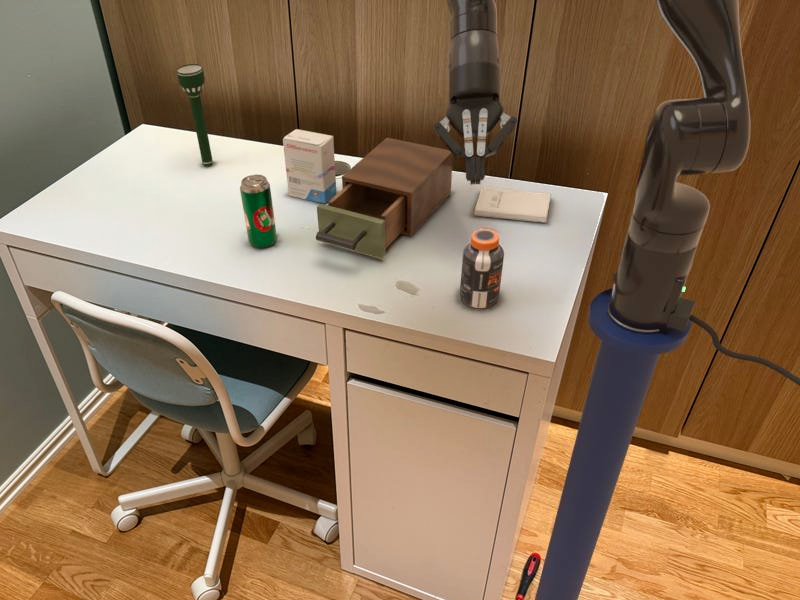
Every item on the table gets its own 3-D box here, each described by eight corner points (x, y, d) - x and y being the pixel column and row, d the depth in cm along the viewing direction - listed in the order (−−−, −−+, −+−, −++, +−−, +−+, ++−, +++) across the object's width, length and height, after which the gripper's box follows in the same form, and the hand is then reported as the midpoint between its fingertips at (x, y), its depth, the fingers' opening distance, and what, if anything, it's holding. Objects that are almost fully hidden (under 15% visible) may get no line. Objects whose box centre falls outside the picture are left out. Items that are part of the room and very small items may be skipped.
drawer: (367, 274, 115) (366, 239, 111) (304, 255, 121) (300, 220, 116) (423, 214, 128) (424, 180, 123) (363, 199, 133) (362, 166, 128)
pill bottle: (491, 313, 107) (498, 250, 100) (453, 303, 110) (458, 241, 102) (503, 291, 111) (511, 229, 103) (467, 282, 113) (472, 220, 106)
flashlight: (220, 157, 152) (203, 62, 139) (219, 169, 148) (202, 72, 135) (196, 160, 152) (177, 65, 139) (195, 171, 148) (175, 75, 135)
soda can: (252, 233, 129) (242, 173, 121) (279, 234, 128) (271, 173, 120) (246, 249, 125) (235, 188, 117) (274, 249, 124) (265, 188, 116)
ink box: (338, 192, 138) (334, 134, 130) (325, 204, 134) (321, 145, 127) (300, 183, 141) (295, 126, 133) (287, 195, 138) (280, 137, 130)
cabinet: (410, 237, 124) (411, 193, 118) (344, 219, 130) (341, 176, 124) (450, 193, 134) (453, 150, 128) (387, 178, 140) (386, 137, 134)
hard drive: (545, 224, 124) (474, 216, 128) (550, 200, 130) (481, 193, 133) (547, 216, 123) (474, 208, 127) (551, 192, 129) (482, 186, 132)
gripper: (516, 75, 111) (517, 186, 111) (431, 82, 114) (432, 191, 114) (521, 55, 104) (522, 174, 104) (429, 63, 106) (430, 180, 106)
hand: (475, 183), depth 109 cm, fingers closed
